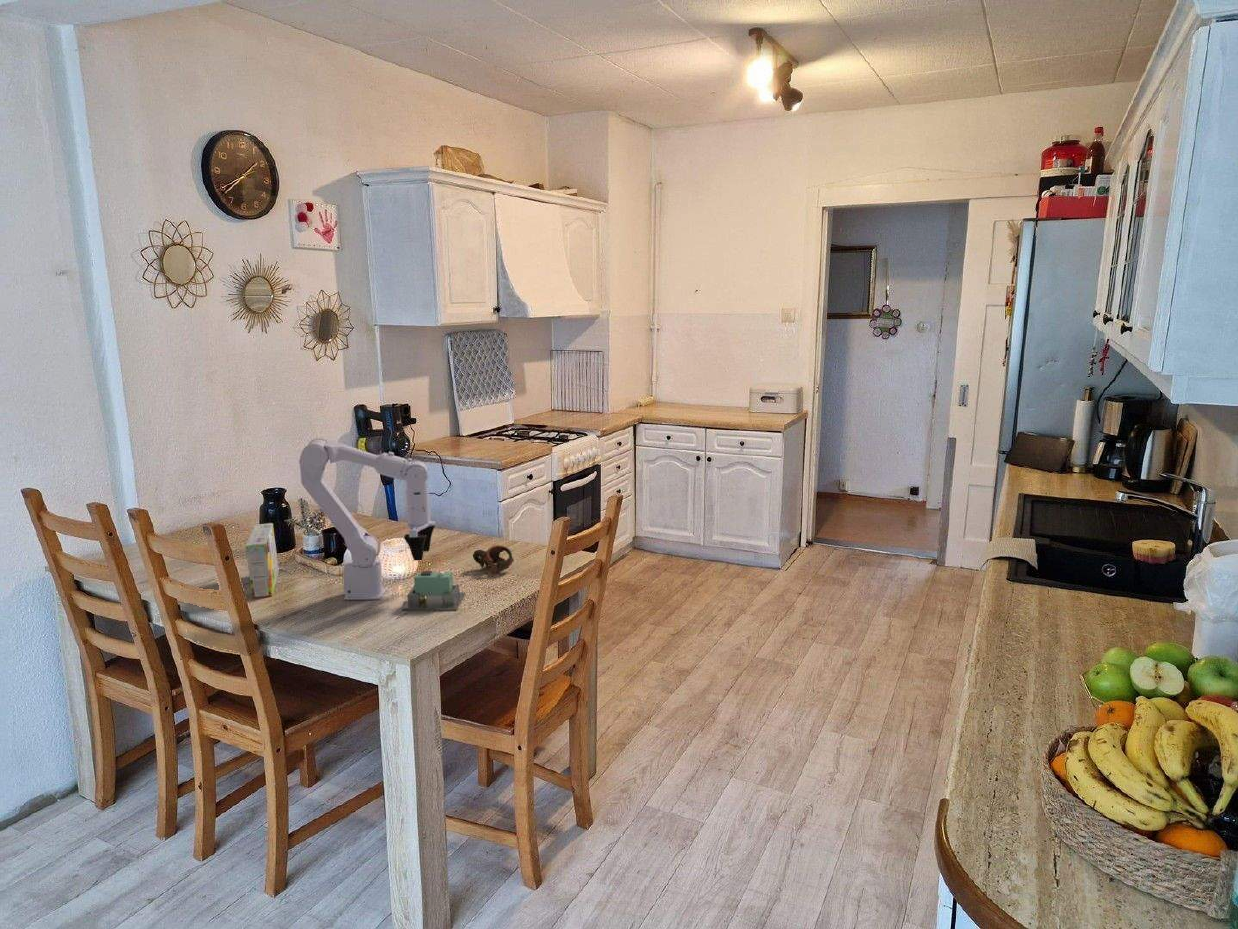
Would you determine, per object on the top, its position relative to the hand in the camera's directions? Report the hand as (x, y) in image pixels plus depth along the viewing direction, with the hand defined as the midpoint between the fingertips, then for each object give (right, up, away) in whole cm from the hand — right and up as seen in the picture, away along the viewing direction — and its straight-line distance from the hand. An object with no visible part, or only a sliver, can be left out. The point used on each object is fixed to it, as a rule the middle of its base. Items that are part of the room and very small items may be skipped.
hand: (421, 555), depth 216 cm
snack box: (-45, -9, +8) cm, 47 cm away
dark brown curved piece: (+17, -7, +18) cm, 25 cm away
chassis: (+5, -11, -7) cm, 14 cm away
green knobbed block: (+5, -9, -7) cm, 13 cm away
